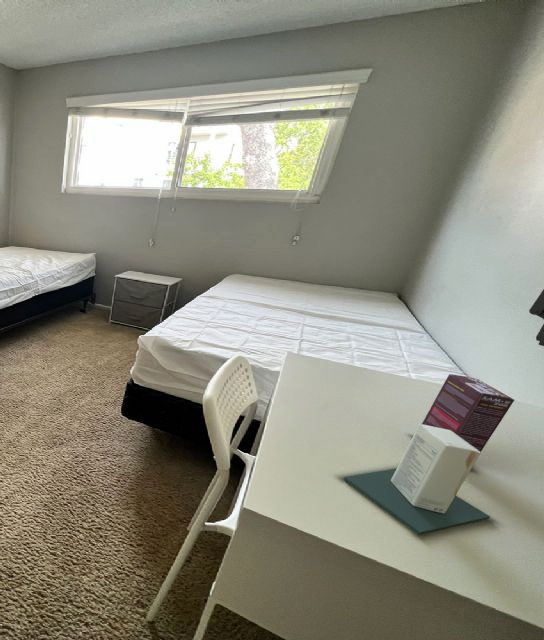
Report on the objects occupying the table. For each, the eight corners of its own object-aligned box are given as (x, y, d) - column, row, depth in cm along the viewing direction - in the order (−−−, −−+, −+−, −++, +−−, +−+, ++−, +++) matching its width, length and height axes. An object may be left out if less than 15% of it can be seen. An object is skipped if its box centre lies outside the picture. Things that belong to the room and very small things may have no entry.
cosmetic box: (445, 515, 56) (485, 454, 51) (411, 506, 57) (447, 446, 53) (418, 486, 61) (451, 429, 57) (388, 478, 63) (418, 422, 58)
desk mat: (406, 468, 66) (408, 466, 66) (488, 519, 56) (490, 516, 56) (343, 479, 62) (344, 476, 62) (418, 535, 53) (420, 532, 52)
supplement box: (472, 470, 67) (517, 400, 62) (440, 462, 69) (481, 393, 63) (440, 442, 75) (478, 378, 69) (412, 436, 76) (447, 372, 71)
